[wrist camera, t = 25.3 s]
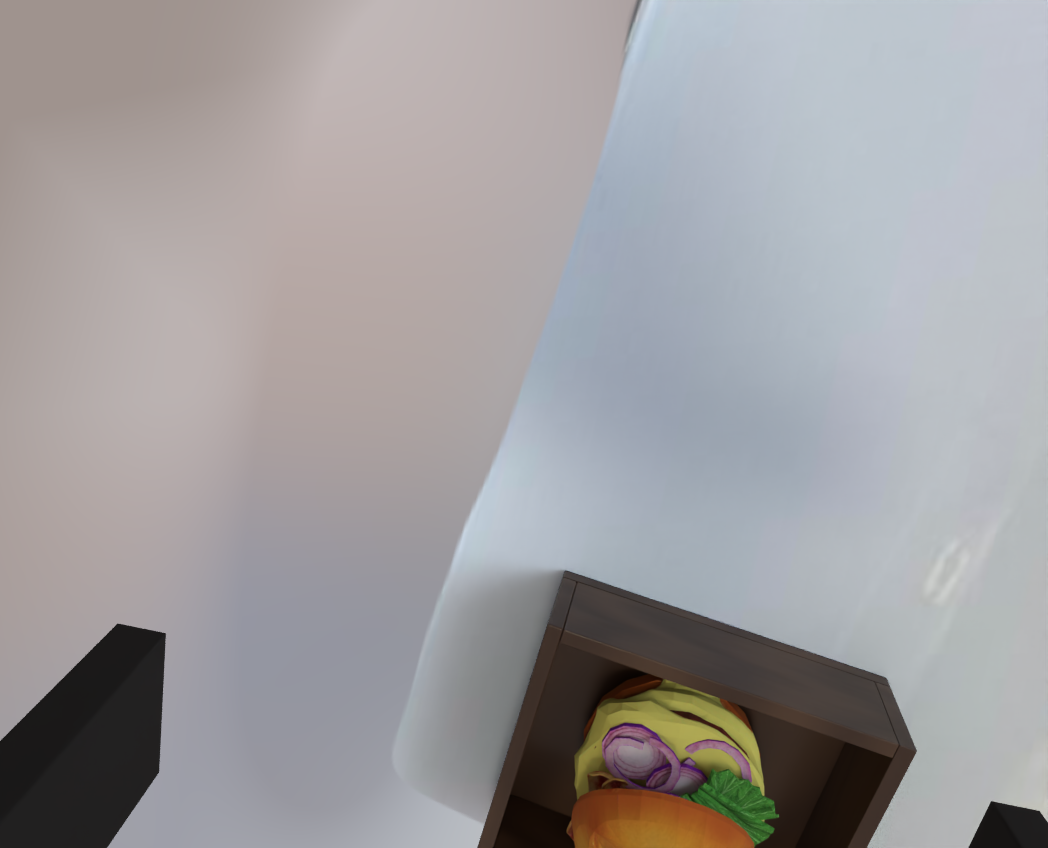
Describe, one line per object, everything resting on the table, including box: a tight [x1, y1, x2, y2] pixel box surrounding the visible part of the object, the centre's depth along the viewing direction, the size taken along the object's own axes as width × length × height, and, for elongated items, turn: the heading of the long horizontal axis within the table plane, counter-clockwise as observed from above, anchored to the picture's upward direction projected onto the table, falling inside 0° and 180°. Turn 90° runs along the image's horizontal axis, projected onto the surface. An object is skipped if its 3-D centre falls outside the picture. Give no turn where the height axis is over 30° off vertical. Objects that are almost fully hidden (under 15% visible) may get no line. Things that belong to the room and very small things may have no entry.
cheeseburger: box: [567, 674, 779, 848], centre depth 40 cm, size 10×11×10 cm
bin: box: [478, 571, 917, 848], centre depth 42 cm, size 18×16×6 cm
